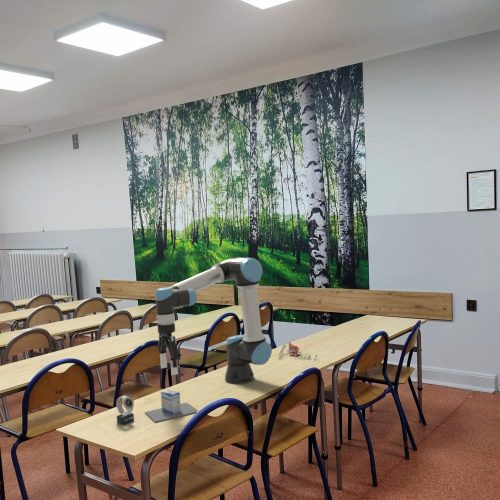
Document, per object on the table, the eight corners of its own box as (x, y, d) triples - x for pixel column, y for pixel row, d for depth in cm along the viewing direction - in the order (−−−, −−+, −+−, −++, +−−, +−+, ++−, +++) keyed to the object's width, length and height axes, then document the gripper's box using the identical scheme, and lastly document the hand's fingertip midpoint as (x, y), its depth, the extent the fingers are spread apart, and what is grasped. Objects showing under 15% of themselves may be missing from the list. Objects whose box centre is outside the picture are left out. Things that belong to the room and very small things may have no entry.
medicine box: (161, 411, 234) (160, 391, 233) (169, 408, 237) (168, 389, 237) (173, 414, 228) (172, 394, 228) (181, 411, 232) (180, 391, 231)
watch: (127, 425, 220) (125, 399, 219) (114, 422, 224) (112, 397, 224) (137, 421, 224) (135, 395, 224) (124, 418, 229) (122, 393, 228)
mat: (186, 403, 243) (186, 402, 243) (199, 412, 231) (198, 411, 231) (144, 413, 234) (144, 412, 234) (155, 422, 221) (155, 421, 221)
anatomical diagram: (284, 340, 329) (322, 341, 318) (287, 352, 332) (325, 352, 321) (272, 361, 313) (312, 362, 301) (276, 373, 316) (315, 374, 304)
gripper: (148, 320, 240) (151, 366, 241) (167, 328, 218) (171, 379, 219) (164, 318, 243) (167, 363, 244) (184, 326, 221) (187, 375, 222)
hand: (169, 371), depth 231 cm, fingers open, 13 cm apart
